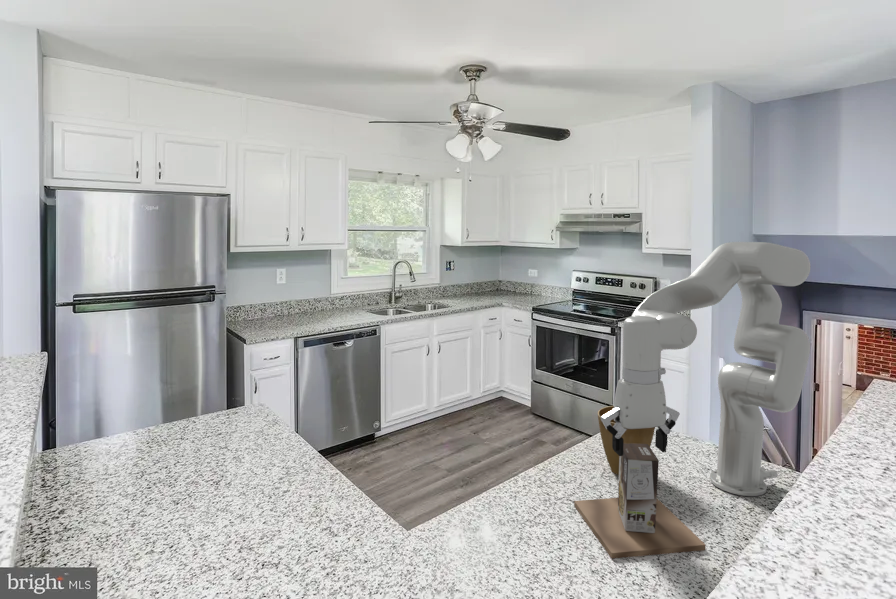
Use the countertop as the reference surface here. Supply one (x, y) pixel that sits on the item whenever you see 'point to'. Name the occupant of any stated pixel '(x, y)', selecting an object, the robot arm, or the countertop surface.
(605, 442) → the plant pot
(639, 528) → the coffee box
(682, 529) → the walnut board
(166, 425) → the countertop surface
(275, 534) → the countertop surface
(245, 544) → the countertop surface
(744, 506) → the countertop surface
